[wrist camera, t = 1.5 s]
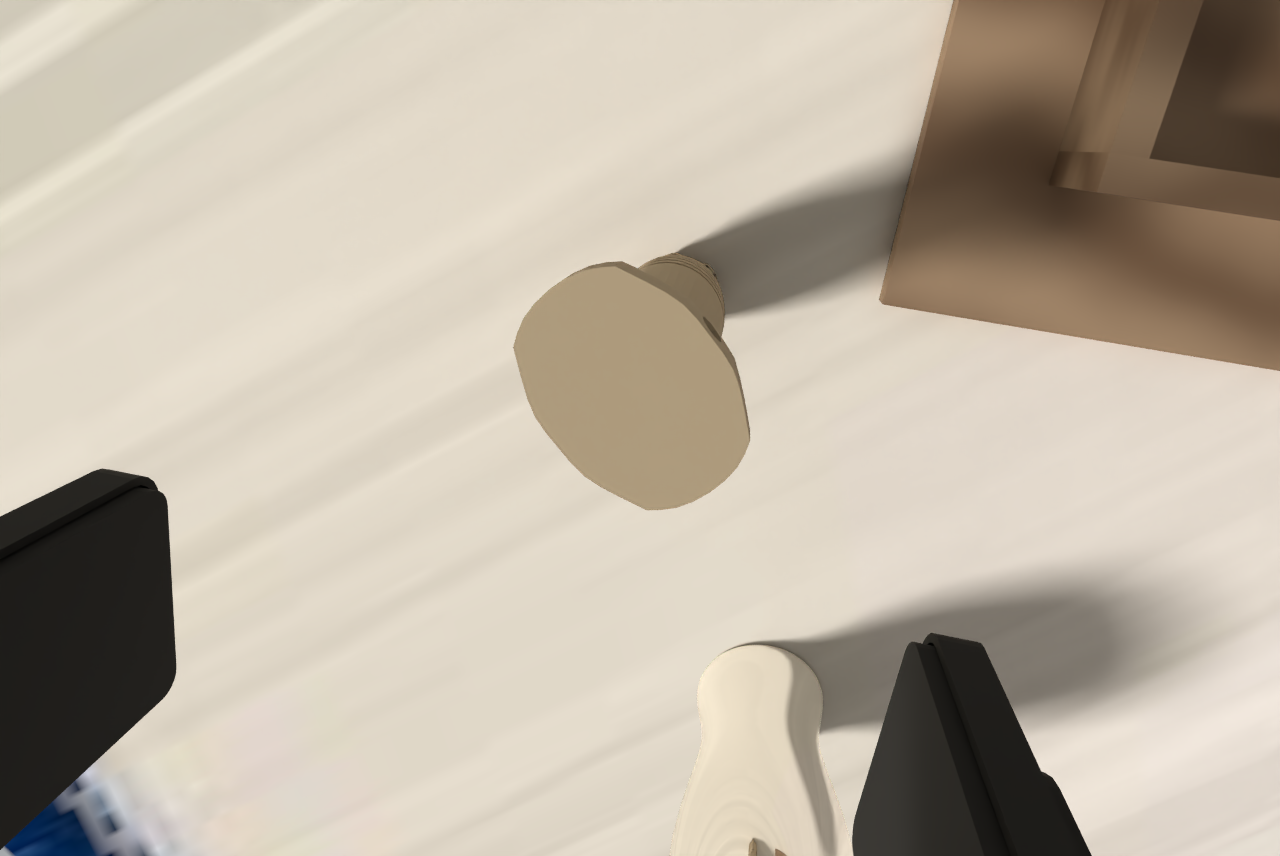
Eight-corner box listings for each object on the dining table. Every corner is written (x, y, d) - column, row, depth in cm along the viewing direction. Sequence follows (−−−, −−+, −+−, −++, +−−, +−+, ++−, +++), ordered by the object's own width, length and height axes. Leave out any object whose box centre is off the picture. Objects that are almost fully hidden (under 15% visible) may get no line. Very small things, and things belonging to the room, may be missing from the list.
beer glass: (695, 625, 39) (663, 893, 25) (842, 645, 39) (893, 932, 25) (682, 743, 42) (646, 1047, 28) (820, 763, 41) (855, 1086, 27)
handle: (680, 191, 33) (626, 226, 19) (774, 317, 34) (789, 439, 20) (589, 264, 34) (476, 348, 20) (681, 383, 36) (635, 540, 21)
